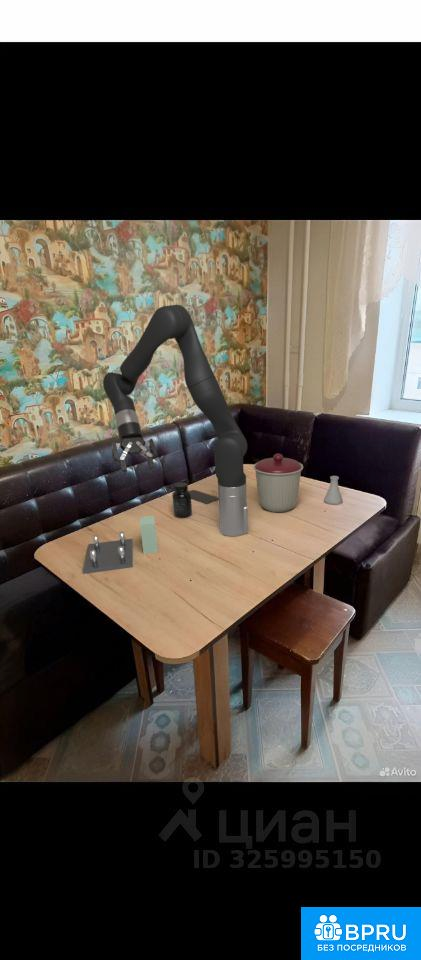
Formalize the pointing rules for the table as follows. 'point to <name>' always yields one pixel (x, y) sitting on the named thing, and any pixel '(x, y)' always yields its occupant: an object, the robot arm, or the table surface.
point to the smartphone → (202, 497)
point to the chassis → (109, 555)
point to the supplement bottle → (182, 501)
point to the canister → (278, 482)
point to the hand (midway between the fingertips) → (138, 470)
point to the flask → (333, 492)
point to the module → (148, 534)
